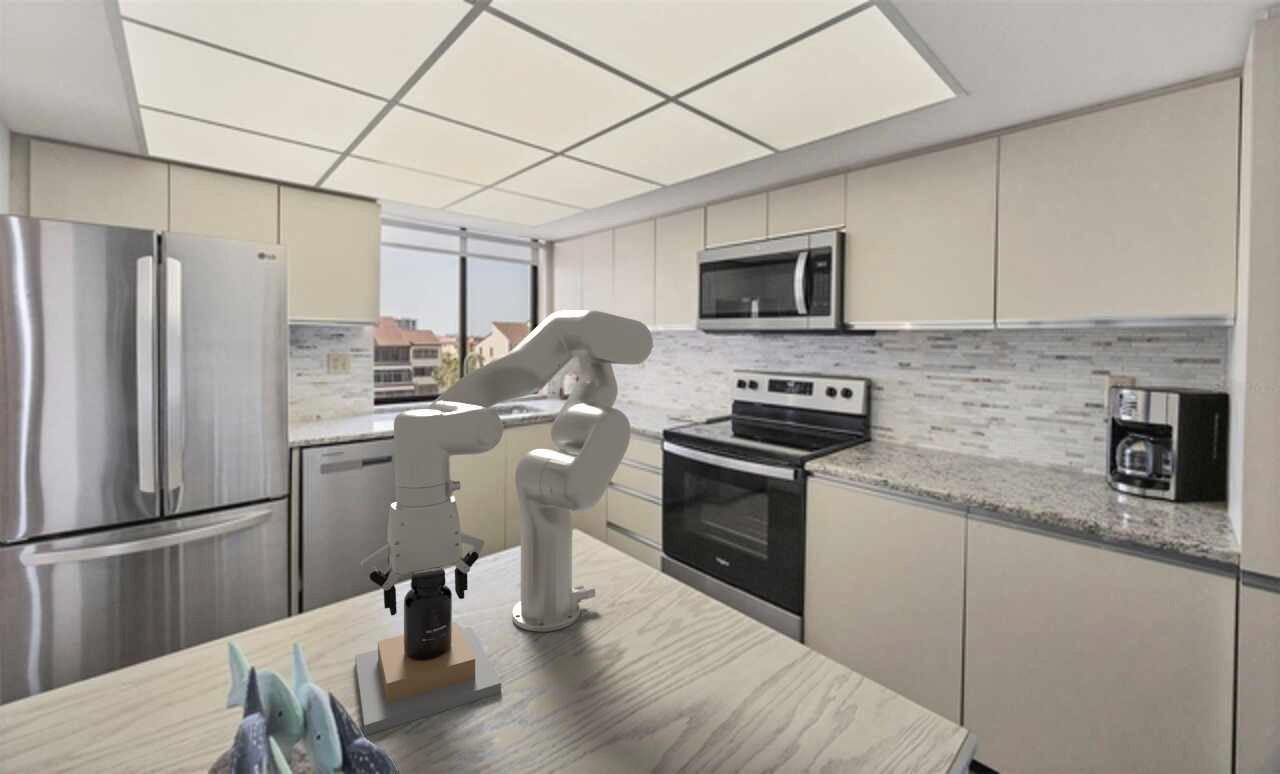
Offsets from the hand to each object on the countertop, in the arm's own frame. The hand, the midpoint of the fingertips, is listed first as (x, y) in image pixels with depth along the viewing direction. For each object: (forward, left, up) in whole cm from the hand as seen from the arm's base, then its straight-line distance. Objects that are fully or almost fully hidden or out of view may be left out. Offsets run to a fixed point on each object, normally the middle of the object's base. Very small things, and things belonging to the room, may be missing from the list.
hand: (427, 603), depth 83 cm
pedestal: (0, 0, -12) cm, 12 cm away
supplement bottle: (0, 0, -7) cm, 7 cm away
